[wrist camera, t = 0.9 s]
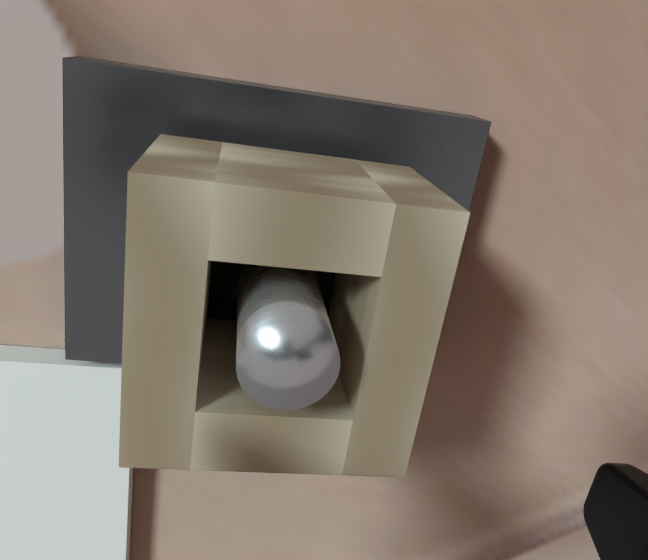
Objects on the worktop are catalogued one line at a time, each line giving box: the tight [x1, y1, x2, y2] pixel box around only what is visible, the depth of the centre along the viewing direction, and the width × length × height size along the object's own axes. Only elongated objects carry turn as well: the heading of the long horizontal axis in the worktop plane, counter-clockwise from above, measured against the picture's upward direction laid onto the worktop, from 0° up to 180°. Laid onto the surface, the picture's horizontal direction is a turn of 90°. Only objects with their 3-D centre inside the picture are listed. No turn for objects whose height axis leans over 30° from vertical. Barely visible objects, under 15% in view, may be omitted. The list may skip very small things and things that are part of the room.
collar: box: [119, 134, 470, 477], centre depth 14 cm, size 6×6×4 cm
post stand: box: [63, 56, 491, 410], centre depth 15 cm, size 12×9×9 cm
